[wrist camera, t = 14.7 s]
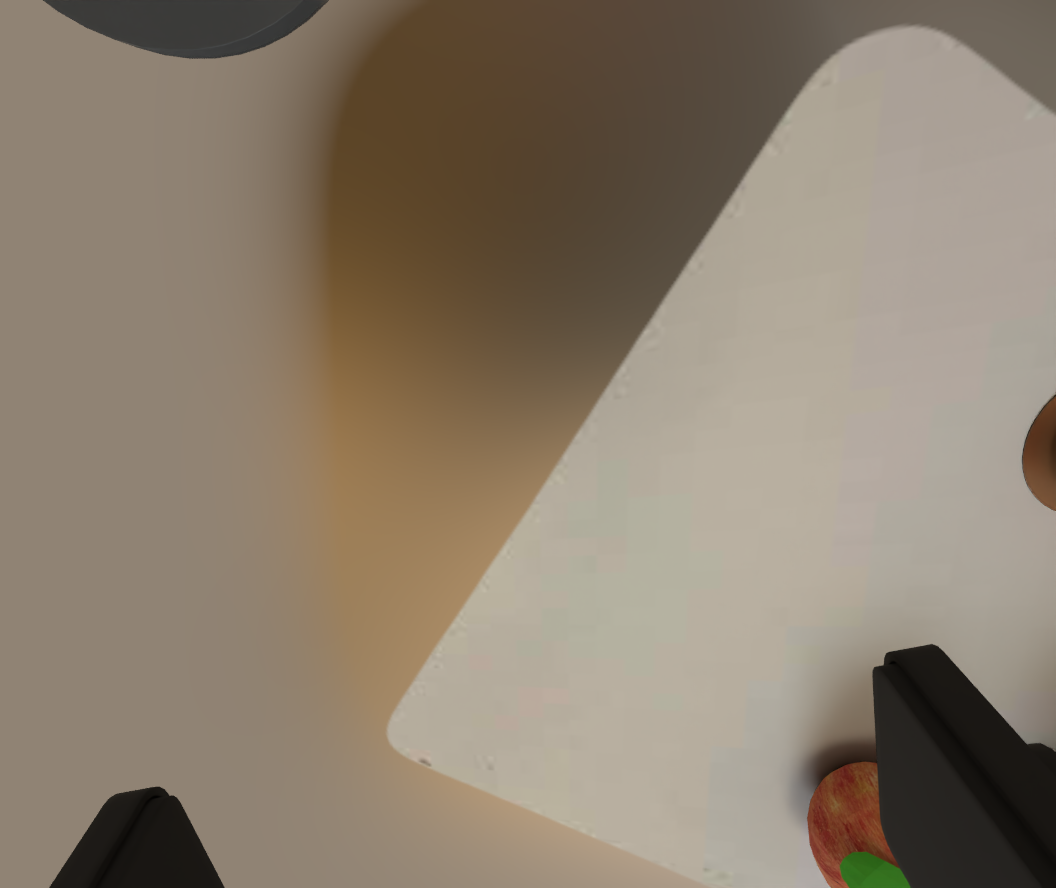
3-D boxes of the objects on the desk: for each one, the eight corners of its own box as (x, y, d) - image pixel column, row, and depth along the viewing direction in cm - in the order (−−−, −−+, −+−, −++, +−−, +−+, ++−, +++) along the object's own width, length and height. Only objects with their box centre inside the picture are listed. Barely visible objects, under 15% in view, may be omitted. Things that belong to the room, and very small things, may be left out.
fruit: (868, 710, 46) (957, 844, 37) (944, 793, 49) (1044, 938, 39) (761, 779, 48) (818, 923, 39) (838, 855, 51) (910, 1008, 41)
